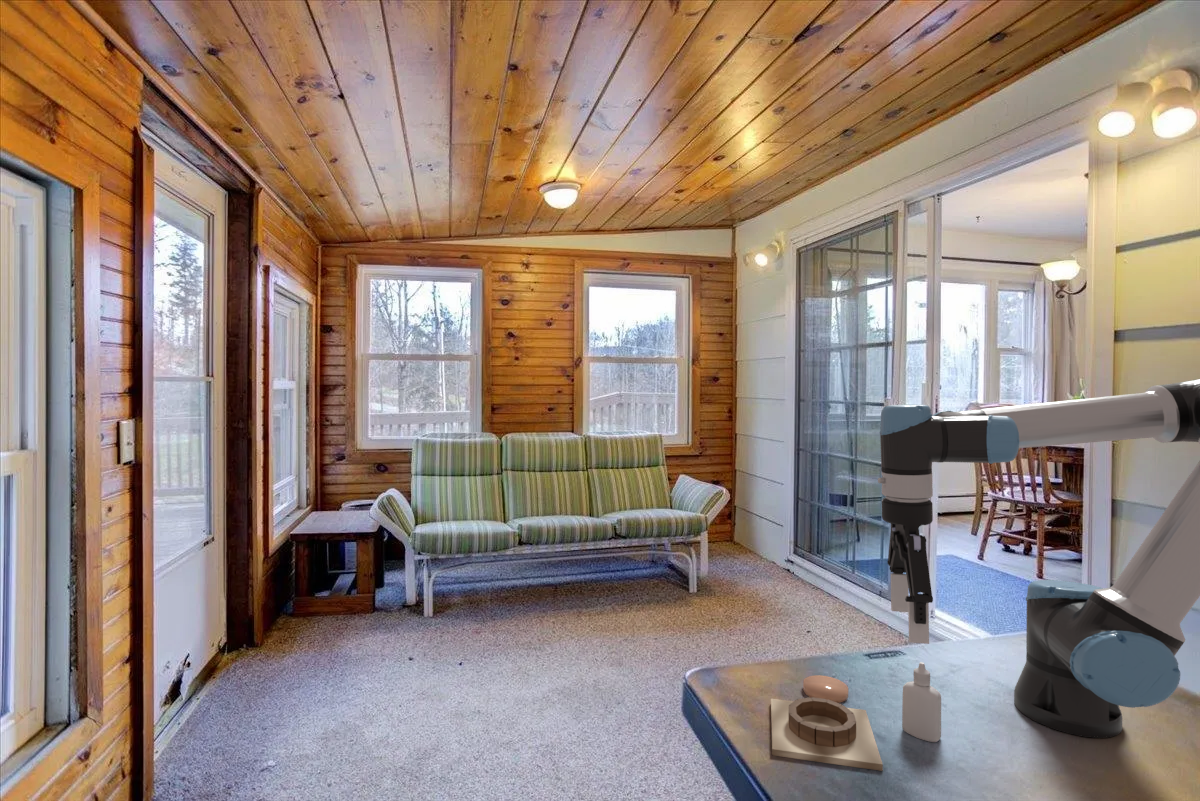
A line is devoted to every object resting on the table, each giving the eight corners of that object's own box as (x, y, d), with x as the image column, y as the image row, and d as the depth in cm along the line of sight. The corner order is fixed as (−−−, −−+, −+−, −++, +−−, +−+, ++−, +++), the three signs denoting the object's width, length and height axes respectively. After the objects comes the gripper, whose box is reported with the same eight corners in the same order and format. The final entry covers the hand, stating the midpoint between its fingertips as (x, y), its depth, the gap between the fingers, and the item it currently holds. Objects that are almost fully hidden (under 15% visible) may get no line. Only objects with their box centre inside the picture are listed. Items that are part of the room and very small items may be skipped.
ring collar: (865, 715, 108) (865, 695, 108) (882, 770, 93) (882, 748, 93) (770, 704, 112) (771, 685, 112) (772, 755, 97) (772, 733, 97)
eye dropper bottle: (919, 723, 106) (920, 654, 105) (945, 742, 100) (946, 668, 100) (898, 727, 104) (898, 657, 104) (923, 746, 99) (924, 672, 99)
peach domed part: (844, 686, 119) (844, 678, 119) (851, 707, 112) (851, 698, 112) (801, 681, 121) (801, 673, 121) (804, 701, 114) (805, 692, 114)
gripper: (869, 485, 115) (871, 598, 115) (897, 512, 91) (900, 655, 91) (913, 486, 113) (915, 601, 113) (954, 514, 89) (957, 660, 89)
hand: (908, 625), depth 102 cm, fingers open, 13 cm apart
